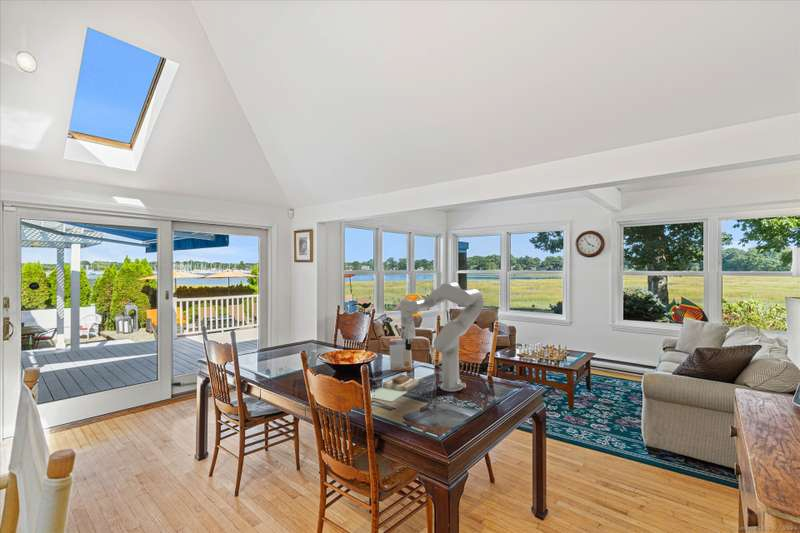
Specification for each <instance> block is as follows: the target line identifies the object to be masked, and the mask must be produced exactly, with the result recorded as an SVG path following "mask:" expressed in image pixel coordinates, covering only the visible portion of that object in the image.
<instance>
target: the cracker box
mask: <svg viewBox="0 0 800 533" xmlns="http://www.w3.org/2000/svg"><path fill="white" fill-rule="evenodd" d="M388 342H389V359H390V360H389V362H390V372H401V371H402V372H408V371H409V372H411V371H412V369H413V362H412V361H413V360H412V349H411V350H406V348H405V342H403V339H402V338H401V337H399V338H390V339H389V341H388Z"/></svg>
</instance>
